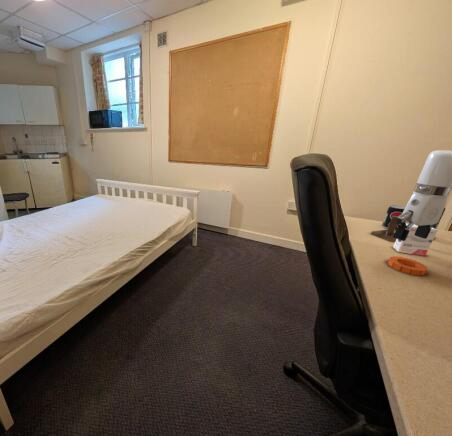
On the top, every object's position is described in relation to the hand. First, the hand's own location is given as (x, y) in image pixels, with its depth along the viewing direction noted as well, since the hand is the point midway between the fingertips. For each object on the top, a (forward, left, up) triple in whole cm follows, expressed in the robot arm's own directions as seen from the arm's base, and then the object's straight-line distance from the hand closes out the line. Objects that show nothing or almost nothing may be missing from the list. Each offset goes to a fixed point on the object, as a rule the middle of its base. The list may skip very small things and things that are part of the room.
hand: (409, 238), depth 77 cm
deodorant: (+19, -45, -13) cm, 50 cm away
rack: (+22, -28, -13) cm, 38 cm away
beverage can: (+30, -41, -13) cm, 52 cm away
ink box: (+9, -20, -13) cm, 25 cm away
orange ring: (0, -4, -13) cm, 13 cm away
